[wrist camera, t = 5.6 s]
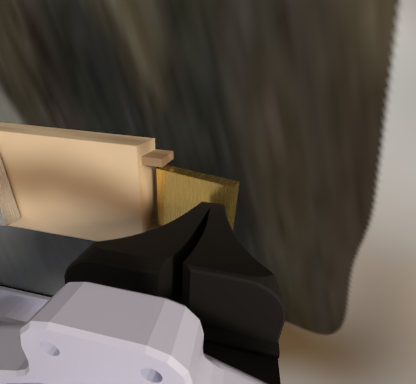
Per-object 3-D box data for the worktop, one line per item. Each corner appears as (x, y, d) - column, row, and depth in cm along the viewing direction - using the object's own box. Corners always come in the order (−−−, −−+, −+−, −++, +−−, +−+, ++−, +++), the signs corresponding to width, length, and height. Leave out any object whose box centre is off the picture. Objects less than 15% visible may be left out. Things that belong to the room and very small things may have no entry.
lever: (166, 217, 16) (231, 240, 14) (158, 224, 15) (225, 249, 13) (166, 164, 14) (239, 181, 12) (156, 168, 13) (232, 187, 11)
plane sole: (173, 231, 17) (161, 252, 14) (-16, 200, 19) (-51, 214, 17) (173, 140, 14) (158, 148, 12) (-49, 117, 16) (-98, 120, 14)
